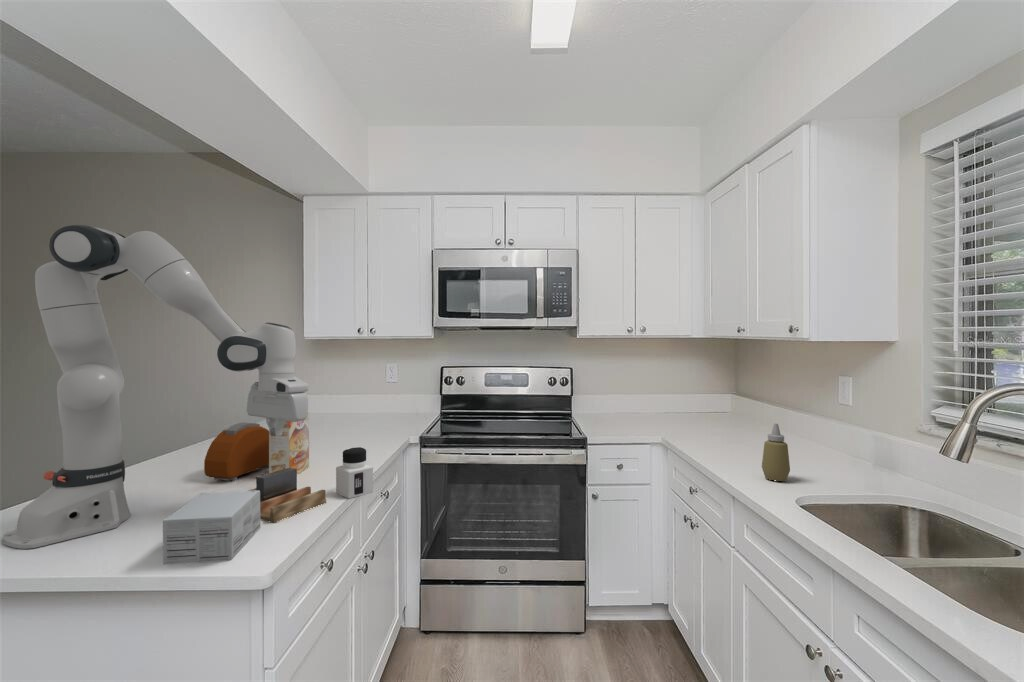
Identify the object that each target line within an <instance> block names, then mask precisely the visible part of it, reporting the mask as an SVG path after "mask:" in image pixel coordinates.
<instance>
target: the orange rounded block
mask: <svg viewBox="0 0 1024 682" xmlns="http://www.w3.org/2000/svg"><path fill="white" fill-rule="evenodd" d="M203 461H204V464H203V466H204V467H203V470H204V475H205V476H207V477H209V478H213V479H214V480H216V479H221V480H220V481H230V480H234V481H233V482H236V481H237V480H238V477H239V476H243V475H244V474H247V473H250V472H253V471H255V470H258V469H262V468H263V467H265V468H266V469H267V468H268V469H269V429H268V428H265V427H263V426H261V424H260V423H256V422H238V423H235V424H233V425H231V426H230V427H227V428H225V429H223V430H222V431H221V432H220V433H219V434H217V436H215V438H214V439H213V440H212V441H211V444H210V445H209V447H208V448H207V451H206V455H205V457H204V460H203ZM235 480H236V481H235Z"/></svg>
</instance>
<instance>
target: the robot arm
mask: <svg viewBox="0 0 1024 682" xmlns="http://www.w3.org/2000/svg"><path fill="white" fill-rule="evenodd" d="M48 246H49V251H50V254H51V255H52V257H53V258H54V261H53V260H52V261H49V262H46V263H44V264H42V265H40V266H39V267H38V268H36V270H35V274H34V284H35V285H34V286H35V287H34V288H35V295H36V301H37V305H38V309H39V312H40V316H41V320H42V323H43V327H44V331H45V333H46V337H47V342H48V345H49V346H50V347H51V349H52V351H53V354H54V356H55V357H56V360H57V362H58V365H59V367H60V370H61V371H62V375H61V377H60V378H59V380H58V381H57V385H56V394H57V395H56V396H57V406H58V415H59V420H60V427H61V434H62V468H60V469H59V470H57V471H56V472H55V471H53V470H47V471H45V472H44V473H43V475H42V478H43V479H44V480H46V481H52V486H51V487H50V488H48V489H47V490H46V491H44V492H42V493H41V494H40V495H39V496H38V497H36V498H35V499H34V500H32V501H31V502H29V503H28V504H27V505H25V506H24V507H23V508H22V509H21V510H20V513H19V514H18V515H19V516H18V519H17V524H16V527H15V529H14V530H10V531H8V532H6V533H4V534H3V537H2V543H3V544H4V545H5V546H8V547H10V548H13V549H24V550H25V549H28V550H29V549H35V548H40V547H44V546H47V545H52V544H55V543H60V542H64V541H68V540H72V539H76V538H81V537H84V536H89V535H93V534H96V533H97V534H98V533H100V532H105V531H109V530H113V529H116V528H117V527H119V526H120V525H121V524H122V523H123V522H125V521H126V520H128V519H129V518H130V517H131V515H132V513H131V511H130V509H129V506H128V505H129V504H128V502H127V498H126V492H125V484H124V482H125V477H126V467H125V460H123V428H122V426H123V425H122V418H121V407H120V406H121V405H120V396H121V395H120V394H122V392H123V391H124V388H125V378H124V377H125V376H124V374H123V371H122V368H121V365H120V362H119V361H120V360H119V358H118V356H117V353H116V350H115V347H114V345H113V342H112V338H111V337H110V333H109V330H108V329H109V328H108V325H107V322H106V318H105V315H104V312H103V311H104V310H103V308H102V305H101V300H100V297H99V292H98V290H97V289H98V288H97V287H98V283H99V281H100V280H101V281H107V280H110V279H111V278H114V277H116V276H119V275H121V274H125V273H126V272H128V271H130V272H131V273H133V275H134V276H136V278H138V279H139V281H140V282H141V283H142V284H143V285H144V286H145V287H146V288H147V290H148V291H149V292H151V293H152V294H153V295H154V296H156V297H157V299H159V300H160V301H162V302H163V303H165V304H166V305H168V306H169V307H171V308H174V309H177V310H179V311H181V312H183V313H186V314H187V315H190V316H192V317H193V318H195V319H196V320H197V321H199V322H200V323H201V324H202V325H203V326H204V327H205V328H206V329H207V330H208V331H209V332H210V333H211V334H212V335H213V336H214V338H216V340H218V341H219V343H220V344H219V345H218V348H217V353H216V357H217V359H218V361H219V363H220V364H221V366H223V368H225V369H227V370H230V371H232V372H247V371H254V370H256V369H257V370H258V381H255V382H254V383H253V384H252V385H251V386H250V390H249V392H248V395H247V401H246V413H247V415H248V416H250V417H257V418H258V417H259V418H265V422H266V425H267V428H268V430H269V435H274V436H281V435H282V429H283V427H284V425H285V423H286V421H292V422H298V421H304V420H305V419H306V418H307V415H308V412H309V398H308V397H309V396H308V394H307V393H306V392H308V391H309V384H308V383H307V382H305V381H304V380H302V379H300V378H299V377H297V376H296V370H295V360H296V355H297V354H296V352H297V347H296V346H297V345H296V343H297V342H296V336H295V332H294V330H293V328H290V326H287V325H283V324H280V323H279V324H278V323H274V322H263V323H262V324H261V325H260V326H257V327H256V328H253V329H251V330H248V331H245V330H244V329H243V328H241V327H240V325H239V324H238V323H237V322H236V321H235V320H234V319H233V318H232V317H231V316H230V315H229V314H228V313H227V312H226V311H225V310H224V309H223V307H222V306H220V304H219V303H218V301H217V300H216V299H215V298H214V296H213V294H212V293H211V292H210V290H209V289H208V287H207V285H206V283H205V282H204V280H203V279H202V277H201V276H200V275H199V273H198V271H196V269H195V268H194V266H192V264H191V263H190V262H189V261H188V260H187V259H186V257H184V256H183V254H182V253H180V252H179V250H177V248H176V247H174V246H173V245H172V244H171V243H170V242H168V241H167V240H166V239H165V238H164V237H162V236H161V235H160V234H158V233H156V232H154V231H151V230H143V231H136V232H133V233H132V234H130V235H128V236H125V235H123V234H120V233H117V232H114V231H111V230H109V229H106V228H103V227H94V226H93V227H92V226H89V225H87V224H86V225H85V224H71V225H66V226H63V227H61V228H59V229H57V230H56V231H55V232H54V233H52V235H51V237H50V238H49V244H48ZM276 423H277V425H276Z"/></svg>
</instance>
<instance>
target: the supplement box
mask: <svg viewBox="0 0 1024 682" xmlns="http://www.w3.org/2000/svg"><path fill="white" fill-rule="evenodd" d="M260 529H261V519H260V491H259V490H254V491H247V490H240V491H236V490H235V491H219V492H218V491H217V492H215V491H214V492H201V493H200V494H198V495H196V497H194V498H193V499H191V500H190V501H189V502H187V503H186V504H185V505H183V506H182V507H180V508H179V509H177V510H176V511H175V512H173V513H172V514H170V515H169V516H167V517H166V518H164V519H162V544H163V545H162V551H163V552H162V556H163V557H162V558H163V559H162V562H163V565H179V564H192V563H193V564H194V563H208V562H224V561H225V562H227V561H232V560H233V559H234V558H235V557H236V556H237V555H238V553H240V551H242V549H243V548H244V547H245V545H247V544H248V543H249V542H250V540H251V539H252V538H253V537H254V536H255V535H256V533H257V532H258V531H259V530H260Z"/></svg>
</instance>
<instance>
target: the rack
mask: <svg viewBox="0 0 1024 682" xmlns="http://www.w3.org/2000/svg"><path fill="white" fill-rule="evenodd" d="M254 490H256V487H254V488H252V489H251V488H250V489H247V490H246V491H254ZM311 491H312V487H311V486H305V487H303V488H299V489H298V488H297V490H295V491H292V492H289V493H286V494H283V495H280V496H277V497H274V498H271V499H268V500H265V501H262V502H260V520H261V519H262V520H261V521H264V522H269V521H270V522H269V523H273V524H276V523H277V521H278V522H281V521H283V520H285V519H284V518H286V519H288V518H291V517H293V516H292V515H294V514H296V515H298V514H297V513H299V512H302V511H304V510H307V509H309V510H311V509H310V508H312V509H314V508H313V507H315V508H317V507H319V506H318V505H320V506H322V505H325V504H327V497H326V496H327V495H326V493H327V492H326V491H327V490H326V489H319V490H318V491H314V492H311ZM324 503H325V504H324ZM321 504H322V505H321ZM316 506H317V507H316ZM307 511H308V510H307ZM304 512H305V511H304ZM302 513H303V512H302ZM299 514H300V513H299ZM290 516H291V517H290ZM294 516H295V515H294ZM287 517H288V518H287ZM282 519H283V520H282ZM280 520H281V521H280Z"/></svg>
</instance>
